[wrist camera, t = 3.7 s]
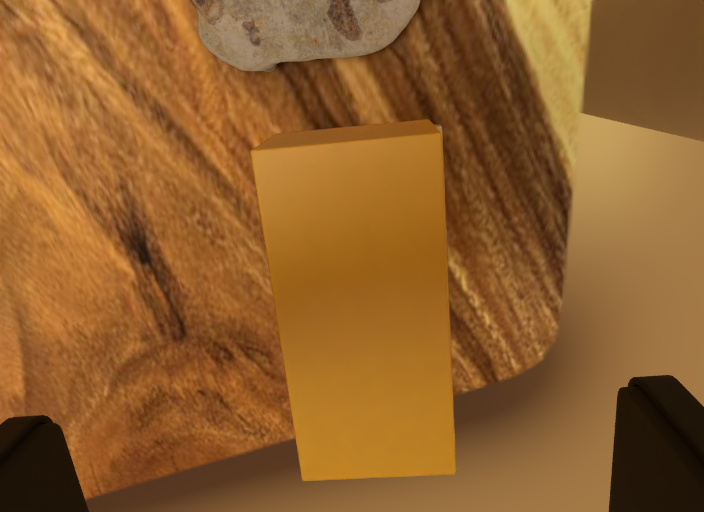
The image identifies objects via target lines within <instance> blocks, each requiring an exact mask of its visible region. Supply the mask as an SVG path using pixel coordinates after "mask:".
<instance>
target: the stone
mask: <svg viewBox="0 0 704 512" xmlns="http://www.w3.org/2000/svg"><path fill="white" fill-rule="evenodd" d="M190 1H191V2H192V3H193V5H194V6H195V8H196V9H197V12H198V19H199V23H198V32H199V36H200V39H201V41H202V43H203V44H204V46H205V47H206V48H207V49H208V50H209V51H211V52H212V53H213V54H214V55H215V56H217V57H218V58H219V59H220V60H222V61H224V62H225V63H227V64H229V65H231V66H233V67H235V68H237V69H239V70H242V71H266V72H270V71H272V70H274V69H275V68H276V64H277V63H280V62H287V61H290V62H295V61H307V60H313V59H321V58H348V57H354V56H361V55H366V54H370V53H373V52H376V51H379V50H381V49H383V48H384V47H386V46H387V45H389V44H390V43H392V42H393V41H394V40H395V39H396V38H397V36H398V35H399V34H400V33H401V31H402V30H403V29H404V28H405V27H406V26H407V24H408V23H409V21H410V19H411V18H412V17H413V15H414V14H415V13H416V11H417V9H418V7H419V3H420V1H421V0H190Z"/></svg>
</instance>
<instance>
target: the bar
mask: <svg viewBox="0 0 704 512" xmlns="http://www.w3.org/2000/svg"><path fill="white" fill-rule="evenodd" d="M250 153H251V159H252V166H253V172H254V178H255V184H256V191H257V197H258V203H259V210H260V216H261V222H262V229H263V235H264V241H265V248H266V254H267V260H268V266H269V273H270V279H271V285H272V292H273V298H274V304H275V311H276V317H277V323H278V329H279V336H280V342H281V348H282V355H283V361H284V367H285V374H286V380H287V386H288V393H289V399H290V405H291V411H292V418H293V424H294V430H295V437H296V443H297V449H298V456H299V462H300V468H301V475H302V480H303V481H314V480H336V479H358V478H380V477H400V476H401V477H403V476H425V475H446V474H456V455H455V431H454V408H453V383H452V359H451V335H450V312H449V288H448V264H447V240H446V216H445V192H444V168H443V144H442V133H441V132H440V131H439V130H438V129H437V128H436V127H435V126H434V124H433V123H432V122H431V121H430V120H428V119H426V120H415V121H405V122H394V123H384V124H373V125H363V126H352V127H342V128H331V129H321V130H310V131H300V132H289V133H279V134H275V135H273V136H272V137H270V138H269V139H267V140H266V141H264V142H263V143H261V144H260V145H258V146H257V147H255V148H254V149H252V150H251V152H250Z"/></svg>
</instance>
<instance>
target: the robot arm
mask: <svg viewBox="0 0 704 512" xmlns="http://www.w3.org/2000/svg"><path fill="white" fill-rule="evenodd" d="M609 503H610V504H609V512H704V407H703V406H702V405H701V404H700V403H699V402H698V401H697V399H696V398H694V396H693V395H692V394H691V393H690V392H689V391H688V390H687V389H686V388H685V387H684V386H683V385H682V384H681V383H680V382H679V381H678V380H677V379H676V378H674V377H673V376H670V375H662V376H646V377H633V378H632V379H631V380H630V381H629V383H628V387H622V388H620V389H619V391H618V396H617V410H616V422H615V435H614V449H613V462H612V476H611V489H610V502H609ZM0 512H89V511H88V508H87V505H86V502H85V499H84V495H83V492H82V489H81V486H80V483H79V480H78V477H77V474H76V471H75V468H74V465H73V462H72V459H71V456H70V453H69V450H68V447H67V443H66V440H65V437H64V434H63V431H62V429H61V427H60V426H59V425H58V424H55V423H53V421H52V420H51V419H50V418H49V417H48V416H44V415H40V416H24V417H12V418H8V419H7V420H5V421H4V422H3V423H2V424H1V425H0Z"/></svg>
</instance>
